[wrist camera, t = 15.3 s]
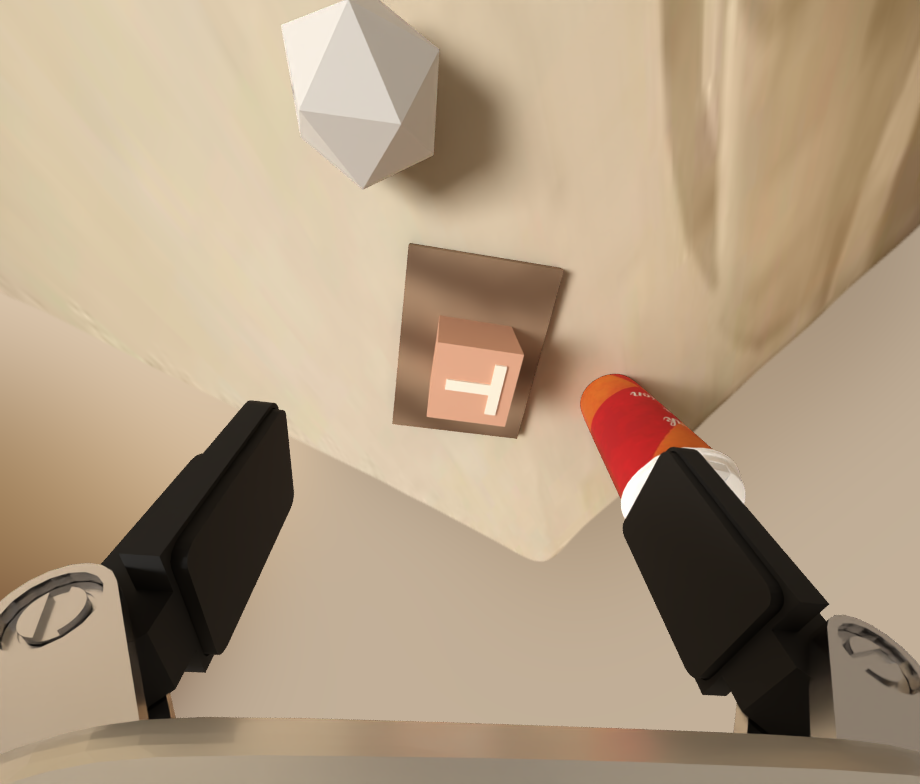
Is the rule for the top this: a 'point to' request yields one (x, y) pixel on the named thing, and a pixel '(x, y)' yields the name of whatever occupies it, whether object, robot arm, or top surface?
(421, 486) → the top surface
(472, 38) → the top surface
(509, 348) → the lettered cube
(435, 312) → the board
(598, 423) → the paper cup
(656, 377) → the top surface
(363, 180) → the die
